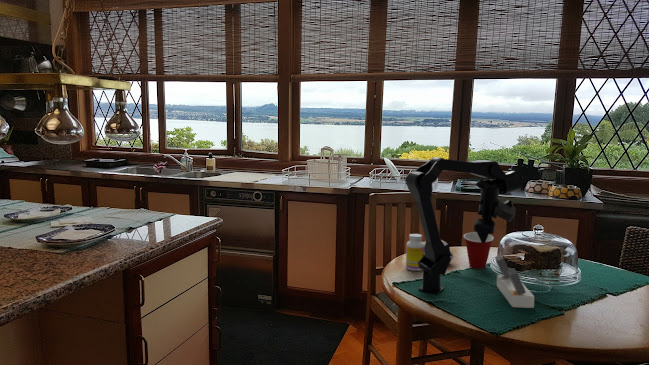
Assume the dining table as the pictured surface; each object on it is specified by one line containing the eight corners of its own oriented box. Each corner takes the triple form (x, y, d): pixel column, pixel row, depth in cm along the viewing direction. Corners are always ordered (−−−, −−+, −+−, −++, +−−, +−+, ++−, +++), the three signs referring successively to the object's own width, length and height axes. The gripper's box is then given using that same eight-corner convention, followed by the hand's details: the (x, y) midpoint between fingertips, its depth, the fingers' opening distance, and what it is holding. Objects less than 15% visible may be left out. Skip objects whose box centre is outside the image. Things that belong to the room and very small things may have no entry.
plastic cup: (461, 269, 166) (462, 237, 164) (463, 261, 176) (464, 231, 174) (492, 272, 162) (493, 240, 160) (493, 264, 171) (494, 233, 170)
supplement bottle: (424, 272, 163) (425, 237, 161) (405, 271, 164) (406, 237, 163) (423, 266, 169) (424, 233, 168) (406, 265, 171) (406, 232, 169)
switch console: (512, 307, 130) (512, 294, 130) (496, 285, 148) (497, 274, 148) (533, 307, 130) (534, 295, 129) (515, 286, 147) (515, 275, 147)
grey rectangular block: (519, 295, 130) (510, 275, 129) (515, 290, 134) (506, 270, 133) (526, 292, 129) (516, 272, 129) (521, 287, 133) (512, 268, 133)
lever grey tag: (506, 279, 144) (497, 260, 143) (502, 275, 148) (494, 257, 147) (512, 276, 143) (503, 258, 143) (508, 272, 147) (500, 254, 147)
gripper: (513, 215, 138) (507, 255, 145) (517, 186, 152) (512, 224, 160) (475, 209, 142) (471, 248, 150) (483, 182, 157) (479, 219, 164)
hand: (485, 235), depth 156 cm, fingers open, 9 cm apart
